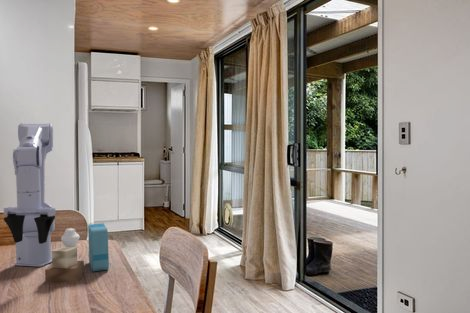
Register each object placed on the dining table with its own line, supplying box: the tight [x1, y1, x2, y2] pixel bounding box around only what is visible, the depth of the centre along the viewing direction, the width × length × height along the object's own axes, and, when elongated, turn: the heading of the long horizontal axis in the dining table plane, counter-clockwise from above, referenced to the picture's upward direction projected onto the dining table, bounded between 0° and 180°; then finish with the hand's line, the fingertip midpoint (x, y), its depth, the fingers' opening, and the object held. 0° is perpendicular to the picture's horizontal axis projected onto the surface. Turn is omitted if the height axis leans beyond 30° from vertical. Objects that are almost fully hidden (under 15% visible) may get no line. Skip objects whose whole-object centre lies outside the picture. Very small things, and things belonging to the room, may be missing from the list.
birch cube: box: [51, 246, 78, 268], centre depth 111 cm, size 4×4×4 cm
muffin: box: [60, 227, 81, 247], centre depth 145 cm, size 6×6×7 cm
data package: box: [87, 222, 110, 272], centre depth 122 cm, size 12×4×12 cm, turn 24°
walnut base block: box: [44, 260, 85, 285], centre depth 111 cm, size 8×7×4 cm
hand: (30, 242), depth 109 cm, fingers open, 7 cm apart
